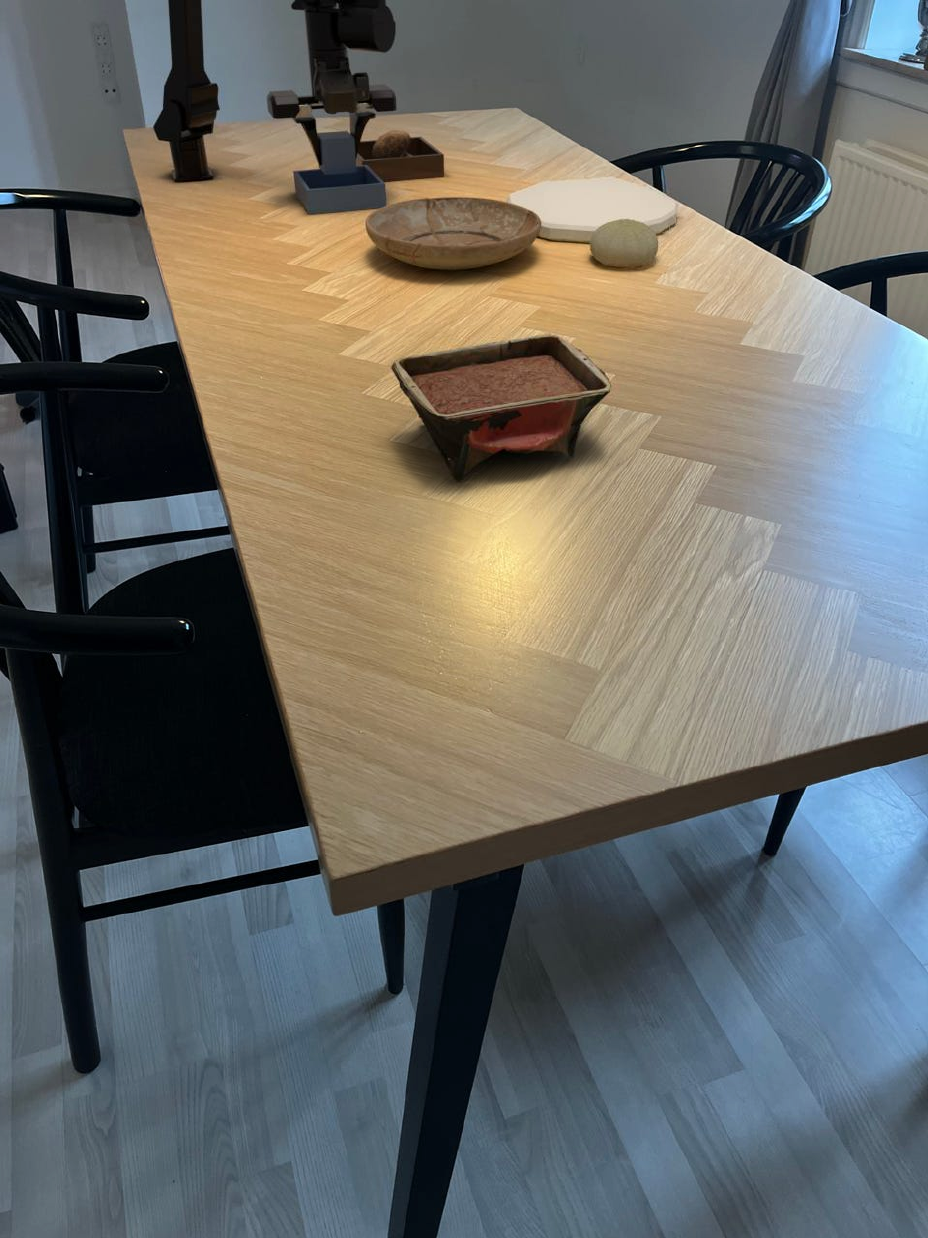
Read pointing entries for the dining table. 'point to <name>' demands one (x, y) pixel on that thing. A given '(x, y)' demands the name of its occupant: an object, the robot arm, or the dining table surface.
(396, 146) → the mushroom
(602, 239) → the sea urchin shell
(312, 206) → the blue bin
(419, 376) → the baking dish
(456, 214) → the ceramic bowl
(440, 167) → the walnut bin
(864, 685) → the dining table surface
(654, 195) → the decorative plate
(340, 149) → the blue block
